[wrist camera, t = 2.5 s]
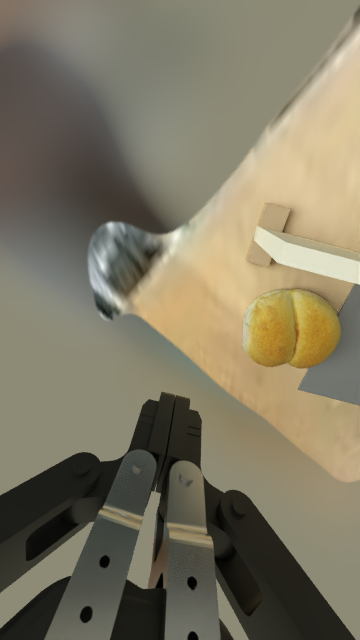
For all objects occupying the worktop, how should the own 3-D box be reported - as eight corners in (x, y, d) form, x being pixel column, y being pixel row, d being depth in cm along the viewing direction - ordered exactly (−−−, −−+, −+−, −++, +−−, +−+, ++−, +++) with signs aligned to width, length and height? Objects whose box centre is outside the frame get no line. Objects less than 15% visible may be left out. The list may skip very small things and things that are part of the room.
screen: (265, 203, 23) (300, 206, 14) (420, 244, 23) (555, 273, 14) (245, 259, 25) (266, 293, 16) (388, 296, 25) (487, 351, 16)
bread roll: (323, 361, 29) (339, 384, 25) (238, 356, 30) (242, 378, 26) (343, 287, 25) (365, 302, 22) (246, 283, 26) (252, 297, 23)
